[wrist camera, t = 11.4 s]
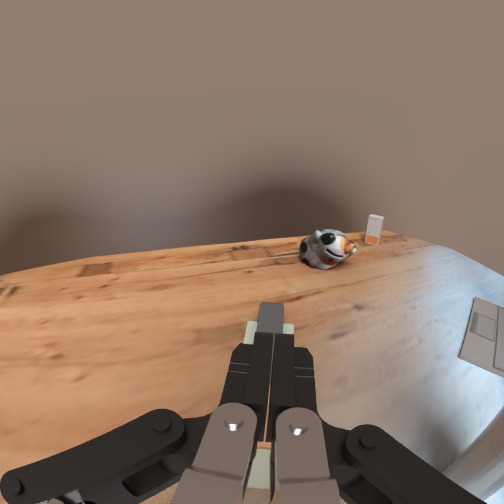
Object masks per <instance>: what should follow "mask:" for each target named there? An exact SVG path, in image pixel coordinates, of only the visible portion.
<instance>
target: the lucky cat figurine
mask: <svg viewBox="0 0 504 504" xmlns="http://www.w3.org/2000/svg"><path fill="white" fill-rule="evenodd" d="M357 249H358V246H356V244H354V242H353V241H351V240H348V239H347V237H346V236H345V235H344V234H343V233H342V232H340V231H338V230H332V229H325V230H322V231H318V230H316V231H315V232H314V234H313V235H311V236H308V237H306V238H304V239H303V240H302V241H301V244H300V248H299V250H300V255H301V259H302V260H303V261H306V262H307V264H308V266H309V267H312V268H317V269H322V270H327V269H329V268H331V267H332V268H333V267H334V266H336V265H337V264H338V263H340V262H341V261H343V260H344V259H346V258H347V257H349V256H351V255H352V254H354V253H355V252H356V251H357Z"/></svg>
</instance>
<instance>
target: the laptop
mask: <svg viewBox="0 0 504 504" xmlns="http://www.w3.org/2000/svg"><path fill="white" fill-rule="evenodd" d="M459 358H460V359H462V360H464V361H467V362H469V363H471V364H473V365H476V366H478V367H480V368H483V369H485V370H487V371H490V372H492V373H494V374H497V375H499V376H501V377H504V308H502V307H500V306H497V305H495V304H493V303H490V302H488V301H485V300H483V299H480V298H478V297H475V298H474V302H473V307H472V311H471V316H470V320H469V324H468V328H467V332H466V335H465V339H464V342H463V346H462V349H461V352H460V356H459Z"/></svg>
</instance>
